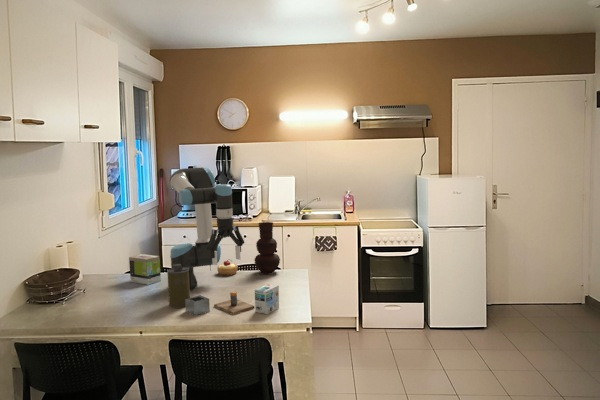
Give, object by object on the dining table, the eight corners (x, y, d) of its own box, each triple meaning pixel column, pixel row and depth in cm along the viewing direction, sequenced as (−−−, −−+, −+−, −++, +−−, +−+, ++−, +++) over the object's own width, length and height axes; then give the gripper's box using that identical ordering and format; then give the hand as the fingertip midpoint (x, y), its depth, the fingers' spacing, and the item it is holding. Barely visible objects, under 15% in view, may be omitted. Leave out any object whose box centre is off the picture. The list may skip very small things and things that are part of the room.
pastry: (221, 271, 307) (220, 257, 306) (240, 271, 305) (239, 257, 305) (215, 276, 295) (214, 261, 294) (234, 276, 293) (233, 261, 293)
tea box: (161, 281, 288) (160, 255, 286) (147, 285, 280) (146, 259, 278) (143, 277, 296) (142, 253, 294) (129, 282, 288) (128, 256, 286)
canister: (171, 309, 238) (169, 268, 235) (166, 303, 247) (164, 263, 245) (194, 305, 243) (192, 265, 240) (188, 299, 252) (186, 260, 250)
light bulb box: (266, 314, 228) (265, 291, 227) (254, 312, 232) (253, 289, 230) (279, 307, 237) (279, 285, 236) (268, 305, 241) (267, 283, 239)
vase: (251, 275, 294) (249, 225, 290) (258, 269, 309) (256, 220, 305) (277, 276, 291) (275, 225, 288) (282, 269, 306) (281, 220, 303)
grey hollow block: (185, 311, 235) (185, 299, 234) (200, 307, 240) (200, 295, 239) (194, 315, 229) (193, 302, 228) (209, 311, 234) (209, 298, 234)
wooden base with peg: (214, 306, 241) (213, 292, 240) (234, 300, 249) (234, 286, 248) (233, 314, 229) (232, 299, 228) (254, 308, 237) (253, 293, 236)
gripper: (207, 221, 224) (209, 268, 227) (250, 214, 242) (252, 258, 244) (197, 220, 229) (199, 265, 232) (240, 213, 247) (242, 255, 249)
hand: (226, 261), depth 238 cm, fingers open, 13 cm apart
